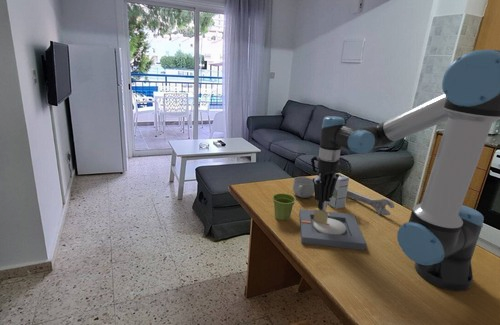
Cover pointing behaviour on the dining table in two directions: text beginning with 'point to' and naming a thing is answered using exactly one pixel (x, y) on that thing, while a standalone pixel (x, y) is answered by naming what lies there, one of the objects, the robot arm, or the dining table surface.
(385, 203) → the wrench
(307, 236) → the dial housing
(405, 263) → the dining table surface
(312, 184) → the teacup
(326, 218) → the dial
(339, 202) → the syrup box
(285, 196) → the plant pot
